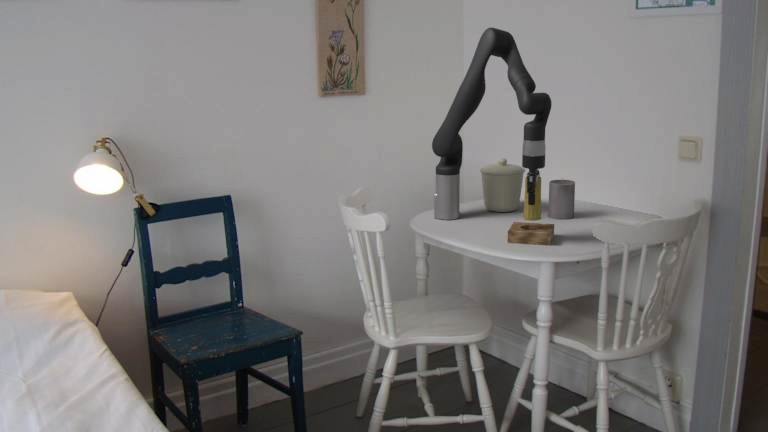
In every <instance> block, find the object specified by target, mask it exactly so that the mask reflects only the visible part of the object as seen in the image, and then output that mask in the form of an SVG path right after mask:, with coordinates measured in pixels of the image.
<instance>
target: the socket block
mask: <svg viewBox="0 0 768 432" xmlns="http://www.w3.org/2000/svg"><path fill="white" fill-rule="evenodd" d="M554 237H555V223H543V222H542V223H541V222H540V223H539V222H523V221H520V222H519V221H513V222H512V223H511V226H510V227H509V228H508V230H507V243H509V244H524V245H536V244H538V246H539V245H540V246H551V245H552V241H553V239H554Z"/></svg>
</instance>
